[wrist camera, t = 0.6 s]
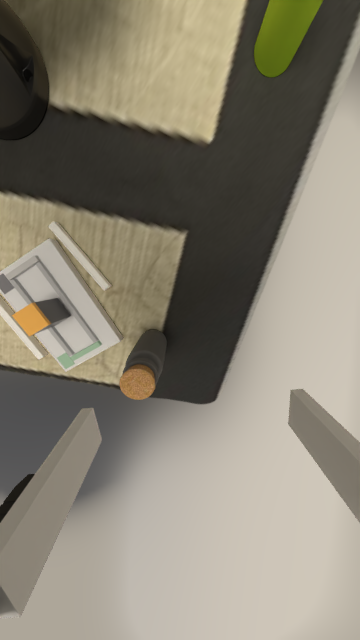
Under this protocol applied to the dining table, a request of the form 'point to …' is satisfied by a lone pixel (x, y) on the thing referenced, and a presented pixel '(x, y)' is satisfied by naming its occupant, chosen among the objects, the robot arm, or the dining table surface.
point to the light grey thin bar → (79, 255)
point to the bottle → (144, 365)
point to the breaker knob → (41, 315)
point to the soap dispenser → (282, 33)
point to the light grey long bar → (21, 330)
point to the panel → (69, 287)
